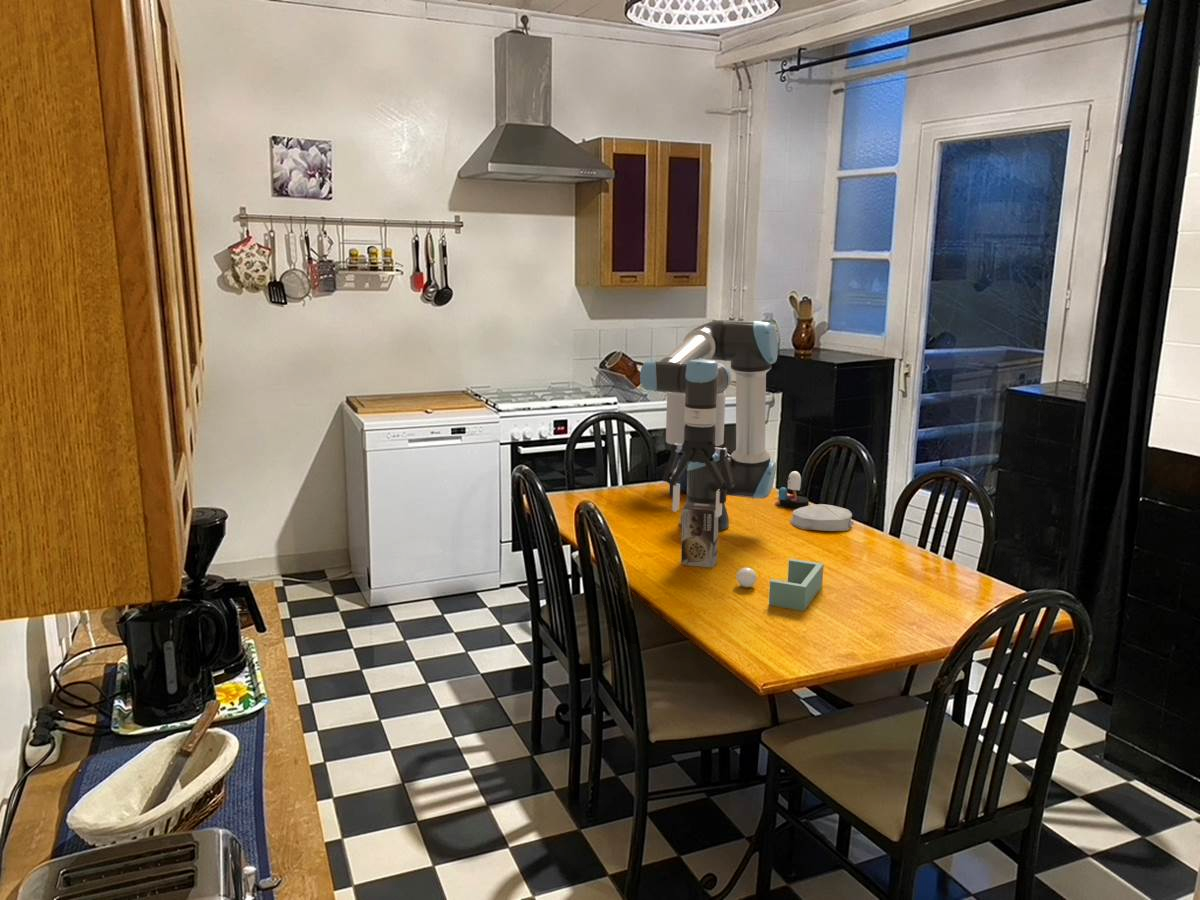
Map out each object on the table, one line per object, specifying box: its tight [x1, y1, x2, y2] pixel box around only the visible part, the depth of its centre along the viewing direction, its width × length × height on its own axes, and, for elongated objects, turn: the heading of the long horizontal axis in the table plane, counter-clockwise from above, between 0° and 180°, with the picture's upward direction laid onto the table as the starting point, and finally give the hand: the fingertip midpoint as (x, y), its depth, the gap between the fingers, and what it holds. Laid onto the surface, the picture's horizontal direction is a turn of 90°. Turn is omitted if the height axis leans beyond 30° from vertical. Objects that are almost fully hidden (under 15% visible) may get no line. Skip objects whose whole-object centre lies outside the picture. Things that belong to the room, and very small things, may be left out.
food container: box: [789, 503, 855, 532], centre depth 284 cm, size 20×20×7 cm
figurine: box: [774, 470, 810, 510], centre depth 305 cm, size 10×11×12 cm
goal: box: [768, 558, 824, 612], centre depth 222 cm, size 8×19×6 cm, turn 154°
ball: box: [736, 567, 758, 588], centre depth 227 cm, size 5×5×5 cm
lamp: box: [665, 390, 726, 494], centre depth 319 cm, size 20×20×37 cm
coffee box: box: [680, 502, 719, 569], centre depth 244 cm, size 9×6×16 cm
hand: (697, 513), depth 221 cm, fingers open, 10 cm apart
